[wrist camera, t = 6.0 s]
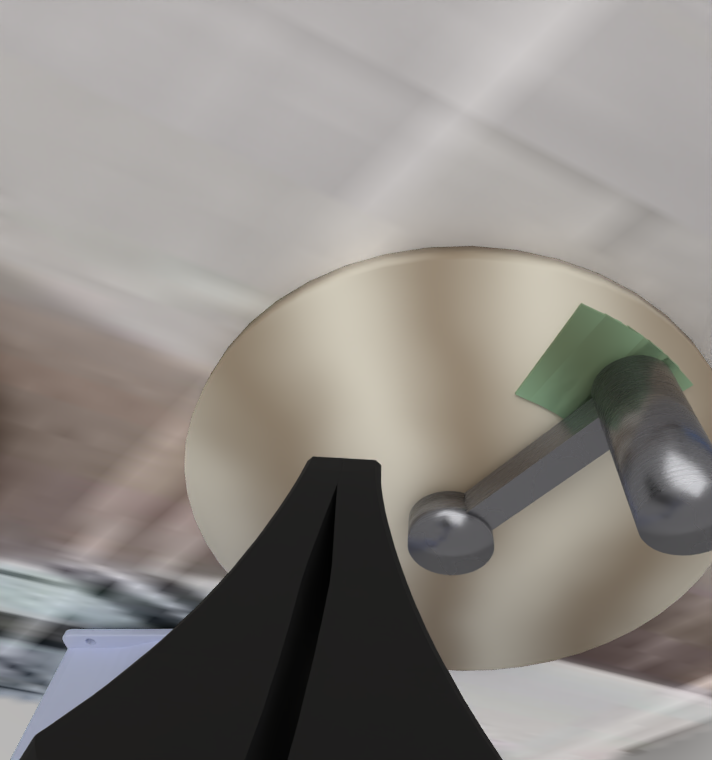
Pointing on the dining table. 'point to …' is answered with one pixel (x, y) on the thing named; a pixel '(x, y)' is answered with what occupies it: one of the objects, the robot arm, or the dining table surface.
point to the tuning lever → (572, 453)
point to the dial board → (451, 434)
